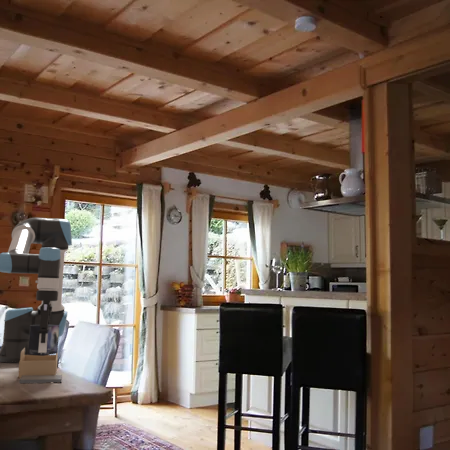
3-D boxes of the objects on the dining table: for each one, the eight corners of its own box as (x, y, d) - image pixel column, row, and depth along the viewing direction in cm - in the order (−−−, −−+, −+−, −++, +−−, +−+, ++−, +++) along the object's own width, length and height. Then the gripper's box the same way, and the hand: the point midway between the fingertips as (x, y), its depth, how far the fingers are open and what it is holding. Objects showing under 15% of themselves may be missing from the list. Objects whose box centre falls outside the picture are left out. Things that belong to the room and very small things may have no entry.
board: (21, 378, 199) (22, 375, 200) (61, 378, 203) (62, 374, 203) (19, 383, 190) (19, 379, 190) (61, 382, 193) (61, 379, 194)
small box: (43, 356, 192) (45, 325, 193) (26, 355, 193) (29, 325, 194) (58, 353, 202) (60, 324, 203) (42, 352, 203) (44, 323, 204)
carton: (22, 370, 219) (24, 347, 220) (56, 370, 222) (58, 347, 223) (18, 377, 201) (20, 352, 202) (55, 377, 204) (56, 352, 205)
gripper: (38, 289, 211) (34, 347, 208) (34, 289, 188) (29, 354, 185) (59, 290, 213) (55, 347, 210) (57, 290, 190) (52, 354, 187)
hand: (43, 350), depth 198 cm, fingers closed on small box, 12 cm apart
